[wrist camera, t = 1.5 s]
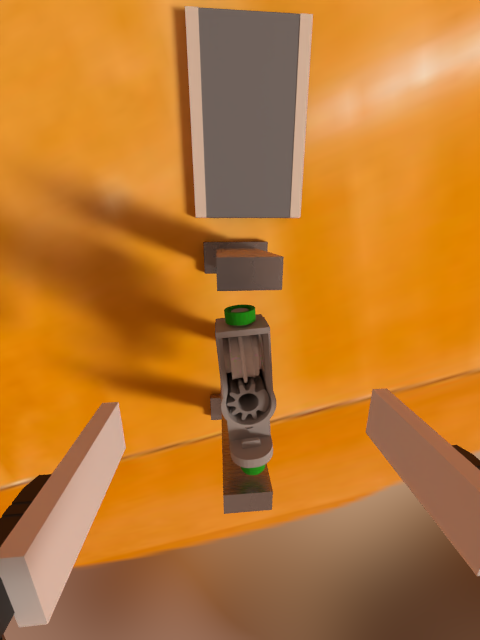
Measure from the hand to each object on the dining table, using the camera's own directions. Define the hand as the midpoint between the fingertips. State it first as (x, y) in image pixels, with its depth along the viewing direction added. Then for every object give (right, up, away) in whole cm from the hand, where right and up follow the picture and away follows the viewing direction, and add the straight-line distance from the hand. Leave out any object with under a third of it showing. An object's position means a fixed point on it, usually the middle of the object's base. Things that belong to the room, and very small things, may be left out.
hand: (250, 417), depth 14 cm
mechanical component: (-1, +4, +10) cm, 11 cm away
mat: (0, +19, +5) cm, 19 cm away
